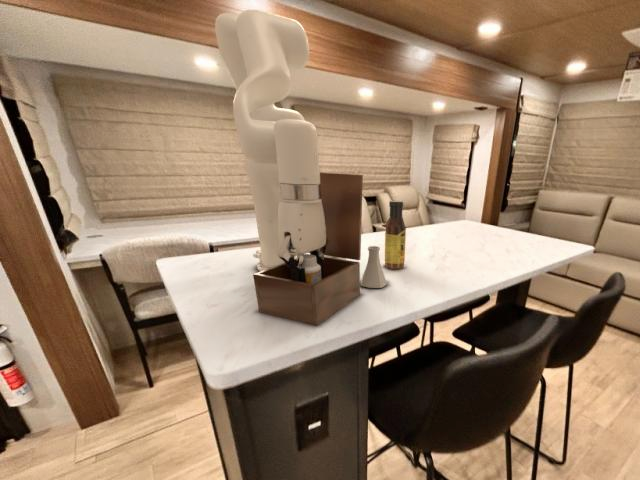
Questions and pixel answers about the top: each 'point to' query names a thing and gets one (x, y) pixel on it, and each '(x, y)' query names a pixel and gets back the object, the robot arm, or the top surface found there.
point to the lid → (342, 213)
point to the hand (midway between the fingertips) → (308, 280)
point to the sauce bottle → (395, 237)
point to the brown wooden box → (307, 291)
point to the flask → (373, 270)
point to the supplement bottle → (311, 269)
